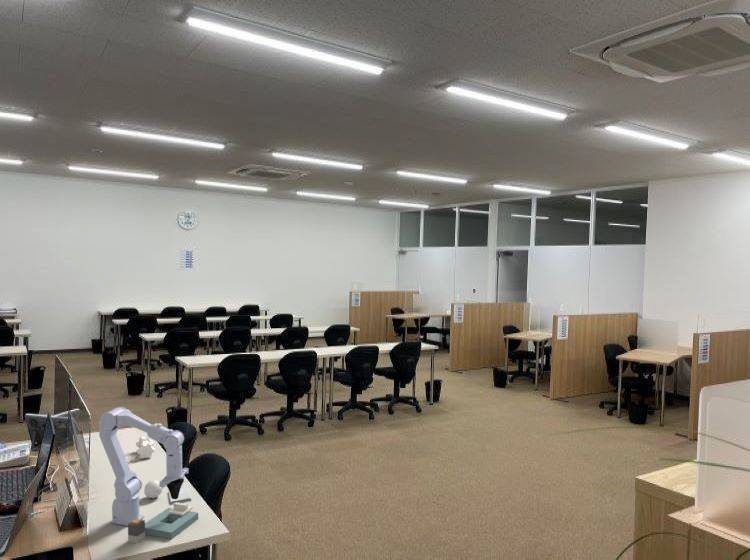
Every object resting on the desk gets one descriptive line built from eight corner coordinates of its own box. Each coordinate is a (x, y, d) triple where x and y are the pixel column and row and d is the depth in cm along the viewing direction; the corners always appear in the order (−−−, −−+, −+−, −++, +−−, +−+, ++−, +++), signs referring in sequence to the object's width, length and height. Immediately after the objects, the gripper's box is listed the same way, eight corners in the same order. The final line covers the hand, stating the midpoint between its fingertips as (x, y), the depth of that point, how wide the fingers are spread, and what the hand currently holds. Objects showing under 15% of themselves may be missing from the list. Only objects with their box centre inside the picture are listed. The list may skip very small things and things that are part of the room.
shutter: (168, 513, 211) (168, 506, 211) (179, 506, 217) (179, 499, 217) (182, 515, 209) (182, 508, 209) (192, 508, 215) (192, 501, 215)
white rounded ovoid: (156, 502, 227) (155, 484, 227) (140, 500, 229) (140, 483, 228) (169, 492, 237) (169, 475, 237) (154, 490, 238) (154, 474, 238)
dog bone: (135, 451, 287) (135, 436, 286) (153, 448, 290) (153, 433, 290) (137, 460, 273) (136, 445, 273) (155, 458, 277) (155, 442, 277)
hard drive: (191, 498, 229) (187, 486, 240) (170, 501, 225) (168, 490, 236) (191, 501, 229) (188, 490, 240) (170, 505, 225) (168, 493, 236)
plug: (128, 541, 196) (127, 522, 195) (136, 536, 199) (135, 517, 199) (137, 543, 194) (137, 524, 194) (145, 537, 198) (144, 519, 198)
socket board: (140, 533, 201) (139, 526, 201) (168, 513, 217) (168, 507, 216) (171, 539, 197) (171, 532, 197) (198, 518, 212) (198, 512, 212)
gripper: (170, 472, 201) (170, 508, 201) (194, 458, 215) (195, 492, 215) (154, 469, 203) (155, 505, 204) (180, 456, 217) (180, 489, 217)
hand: (174, 498), depth 210 cm, fingers closed
